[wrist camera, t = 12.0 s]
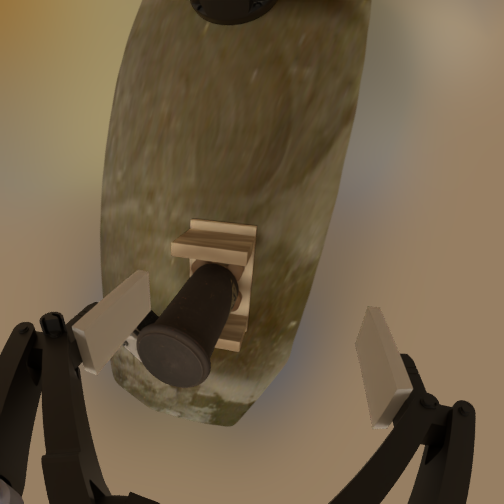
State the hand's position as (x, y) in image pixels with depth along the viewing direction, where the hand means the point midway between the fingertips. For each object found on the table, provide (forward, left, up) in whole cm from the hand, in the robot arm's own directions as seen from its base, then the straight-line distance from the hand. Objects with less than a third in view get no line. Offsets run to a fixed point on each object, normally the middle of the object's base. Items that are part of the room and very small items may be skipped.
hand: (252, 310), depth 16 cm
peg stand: (+13, -9, -31) cm, 35 cm away
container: (+13, -9, -27) cm, 31 cm away
